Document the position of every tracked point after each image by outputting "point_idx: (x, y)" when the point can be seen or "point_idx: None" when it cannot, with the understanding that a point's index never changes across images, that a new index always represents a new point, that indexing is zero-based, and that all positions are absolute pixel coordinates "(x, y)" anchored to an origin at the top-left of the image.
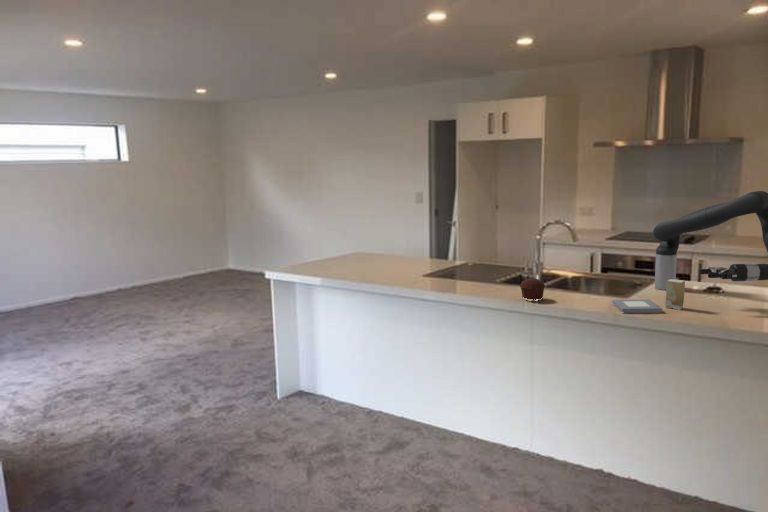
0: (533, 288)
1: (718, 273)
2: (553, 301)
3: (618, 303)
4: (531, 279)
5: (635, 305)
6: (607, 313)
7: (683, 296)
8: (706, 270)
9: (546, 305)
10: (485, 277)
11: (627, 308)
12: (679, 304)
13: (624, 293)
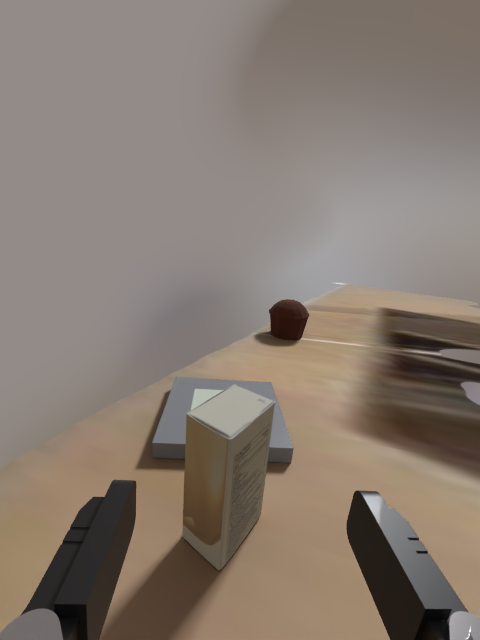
0: (269, 310)
1: (39, 620)
2: (277, 344)
3: (229, 382)
4: (287, 300)
5: (204, 400)
6: (180, 372)
7: (213, 511)
8: (394, 575)
9: (248, 337)
10: (418, 328)
11: (175, 383)
12: (184, 512)
13: (425, 441)
